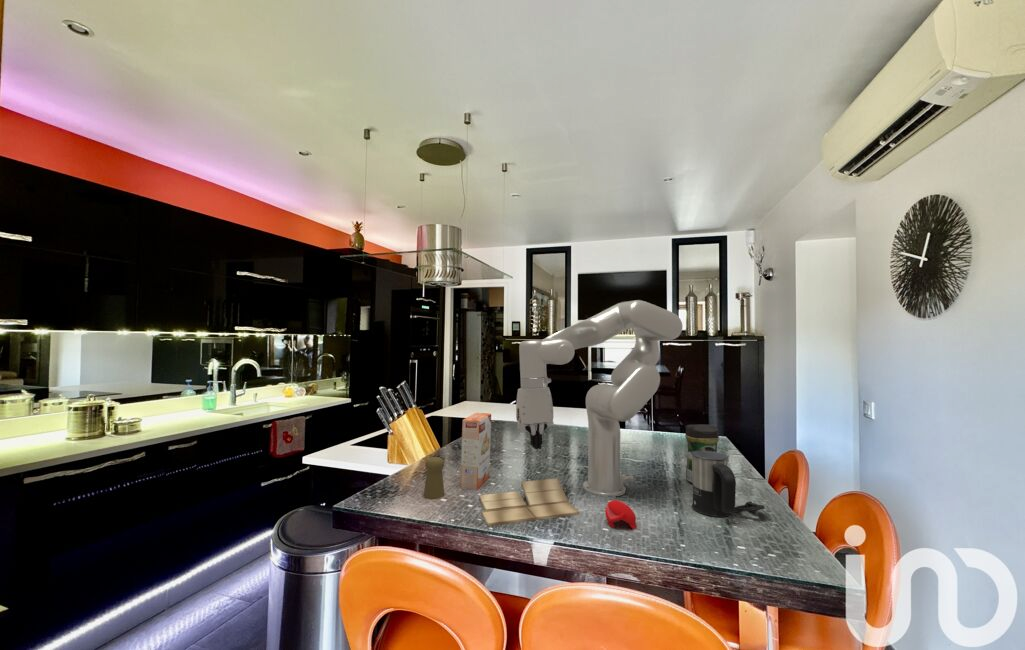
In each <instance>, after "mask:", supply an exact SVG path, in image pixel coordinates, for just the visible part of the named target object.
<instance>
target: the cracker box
mask: <svg viewBox="0 0 1025 650" xmlns="http://www.w3.org/2000/svg"><path fill="white" fill-rule="evenodd" d="M461 427H462V428H461V431H462V432H461V457H460V460H461V461H460V464H461V465H460V484H459V486H460V487H459V488H460V489H464V490H474V491H475V490H476V491H478V490H479V489H480V488H481V486H482V485H483V484H484V483H485V482H486V481H487V480H488V479H489V478H490V469H491V468H490V467H491V464H490V463H491V462H490V461H491V460H490V459H491V436H492V413H489V412H488V413H487V412H475V413H473V414H471V415H469V416H467V417H466V418H464V419H462V426H461Z"/></svg>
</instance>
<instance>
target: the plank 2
mask: <svg viewBox="0 0 1025 650" xmlns="http://www.w3.org/2000/svg"><path fill="white" fill-rule="evenodd" d="M520 486H521V487H522V491H523V494H524V497H525V499H526V502H527V503H526V504H527V506H530V505H539V504H547V503H556V502H564V501H568V502H569V499H568V497H567V496H566V494H565V491H564V489H563V486H562V485H561V483H560V481H559V479H558V478H557V477H556V478H548V479H545V478H544V479H537V480H536V479H535V480H527V481H526V480H525V481H521V484H520Z"/></svg>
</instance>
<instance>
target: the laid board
mask: <svg viewBox="0 0 1025 650" xmlns="http://www.w3.org/2000/svg"><path fill="white" fill-rule="evenodd" d="M480 515H481V516H482V518H483V519H484V521H485V523H486V525H487V526H488V527H491V526H492V527H493V526H501V525H508V524H516V523H523V522H531V521H537V520H538V521H539V520H546V519H548V520H549V519H553V518H562V517H569V516H570V517H571V516H577V515H580V511H579V510H578V509H577V508H575V506H574V505H572V504H571V503H570V502H569V500H568V501H564V502H556V503H547V504H539V505H530V506H529V505H526V506H521V507H513V508H504V509H495V510H487V511H485V510H481V511H480Z"/></svg>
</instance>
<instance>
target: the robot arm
mask: <svg viewBox="0 0 1025 650" xmlns="http://www.w3.org/2000/svg"><path fill="white" fill-rule="evenodd" d="M629 329H634V334H635V344H634V347H633V348H632V349H631V351H630V352H629V353H628V354H627V355H626V356H625V357H624V358H623V360H622V361H620V363H619V364H618V365H616V366H615V368H614V369H613V370H612V372H611V375H610V381H611V384H612V385H610V384H606V383H605V384H602V383H600V384H596V385H593V386H592V387H590V389H589V390H588V391H587V393H586V396H585V408H586V414H587V423H588V426H587V427H588V429H587V430H588V437H587V438H588V445H587V446H588V449H587V450H588V453H587V454H588V455H587V456H588V458H587V464H588V465H587V472H588V473H587V478H588V479H587V480H585V481H584V482H583V484H582V488H583V490H584V491H587V492H588V493H590V494H594V495H598V496H602V497H603V496H605V497H606V496H607V497H616V496H617V497H621V496H623V495H625V494H626V486H625V485H626V483H634V482H635V477H634V475H627V476H626V474H625V473H623V474H621V427H620V422H627V421H629V420H631V419H632V418H634V417H635V416H636V415H637V414H638V413H639V412H640V411H641V410H642V409H643V408H644V406H645V405H646V404H647V403H648V401H650V399H651V398H652V397H653V396H654V395H655V393H657V391H658V389H659V386H660V382H661V375H660V372H659V370H658V369H657V368H656V365H657V364H658V361H659V359H660V349H659V342H658V341H671V340H676V339H677V338H679V336H680V335H681V334H682V333H683V332H682V331H683V322H682V320H681V318H680V317H679V316H678V314H676V313H674V312H672V311H670V310H668V309H666V308H662V307H660V306H657V305H656V304H652V303H650V302H647V301H644V300H641V299H637V300H636V299H635V300H629V301H621V302H618V303H616V304H614V305H612V306H610V307H609V308H606V309H603V310H602V311H601V312H599V313H596V314H595V315H593V316H590V317H589V318H587V319H584V320H581V321H579V322H577V323H575V324H572V325H570V326H568V327H565V328H563V329H561V330H559V331H557V332H554V333H552V334H550V335H548V336H547V337H545V338H543V339H542V340H541V339H540V340H536V339H535V340H532V339H531V340H523V341H521V342H519V348H518V350H519V372H520V373H519V374H520V388H518V389H517V394H516V405H515V406H516V408H515V417H516V421H517V426H516V427H517V429H519V430H525V431H526V432H527V433H528V434H529V439H530V446H531V447H532V449H535V450H538V449H539V450H541V449H542V445H543V434H544V431H545V430H546V429H547V428H549V427H552V426H554V424H555V423H554V405H553V398H552V393H551V390H550V387H549V386H548V384H550V383H552V379H551V377H550V378H549V377H548V375H547V374H548V373H547V365H549V364H550V365H561V366H562V365H565V364H568V363H569V362H571V361H572V360H573V359H574V358H575V357H574V356H575V353H576V352H575V350H579V349H581V348H582V349H583V348H588V347H594V346H597V345H600V344H602V343H605V342H607V341H608V340H610V339H612V338H613V337H616V336H617V335H619V334H621V333H623V332H625V331H627V330H629ZM535 425H536V427H535Z"/></svg>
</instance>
